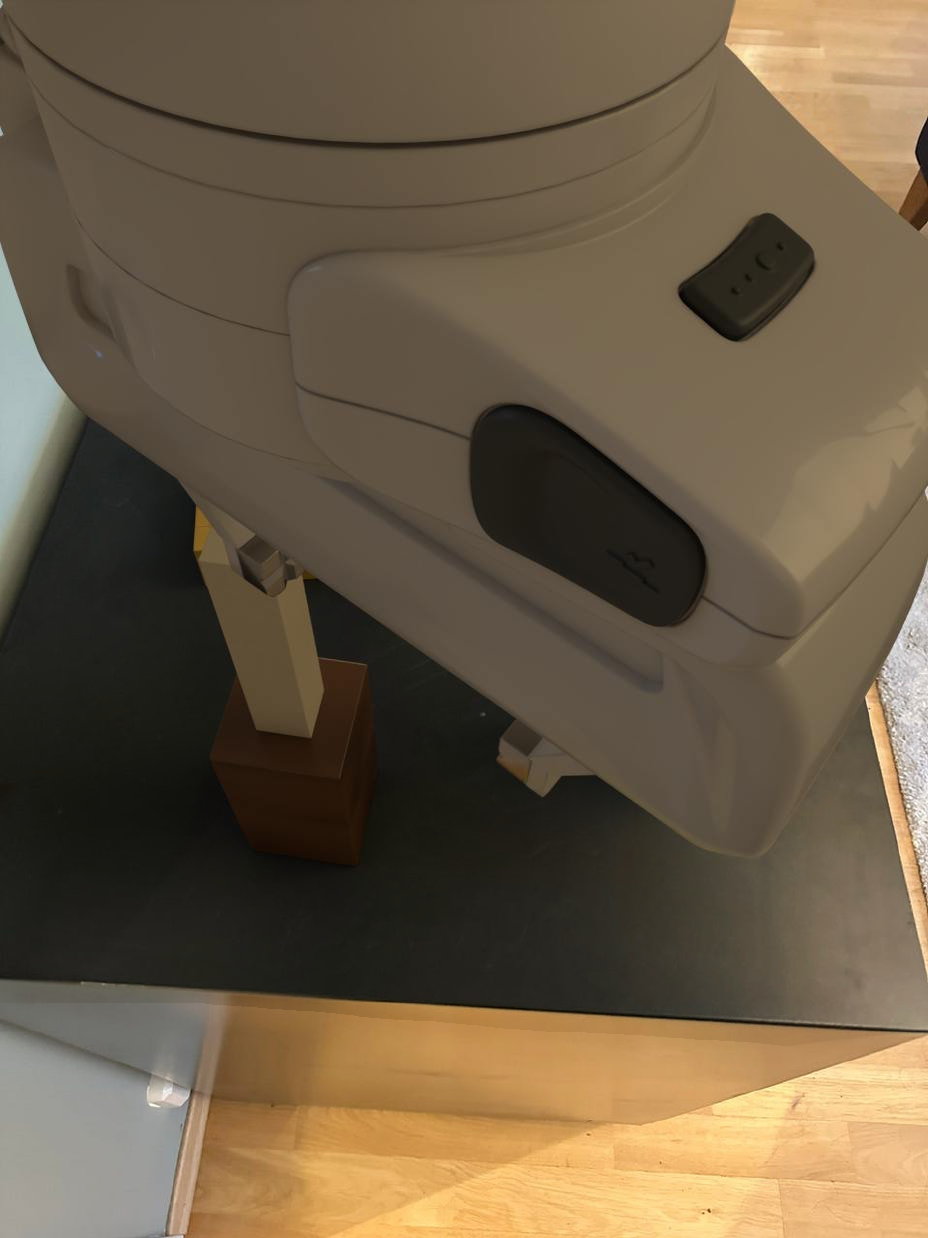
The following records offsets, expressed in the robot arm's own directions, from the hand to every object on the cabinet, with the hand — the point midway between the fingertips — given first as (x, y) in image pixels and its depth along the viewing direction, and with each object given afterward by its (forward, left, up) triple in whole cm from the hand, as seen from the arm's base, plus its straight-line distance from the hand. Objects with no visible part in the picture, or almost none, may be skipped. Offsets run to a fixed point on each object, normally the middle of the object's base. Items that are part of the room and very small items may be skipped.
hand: (397, 660), depth 25 cm
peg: (-12, +4, -23) cm, 26 cm away
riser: (-12, +4, -37) cm, 39 cm away
